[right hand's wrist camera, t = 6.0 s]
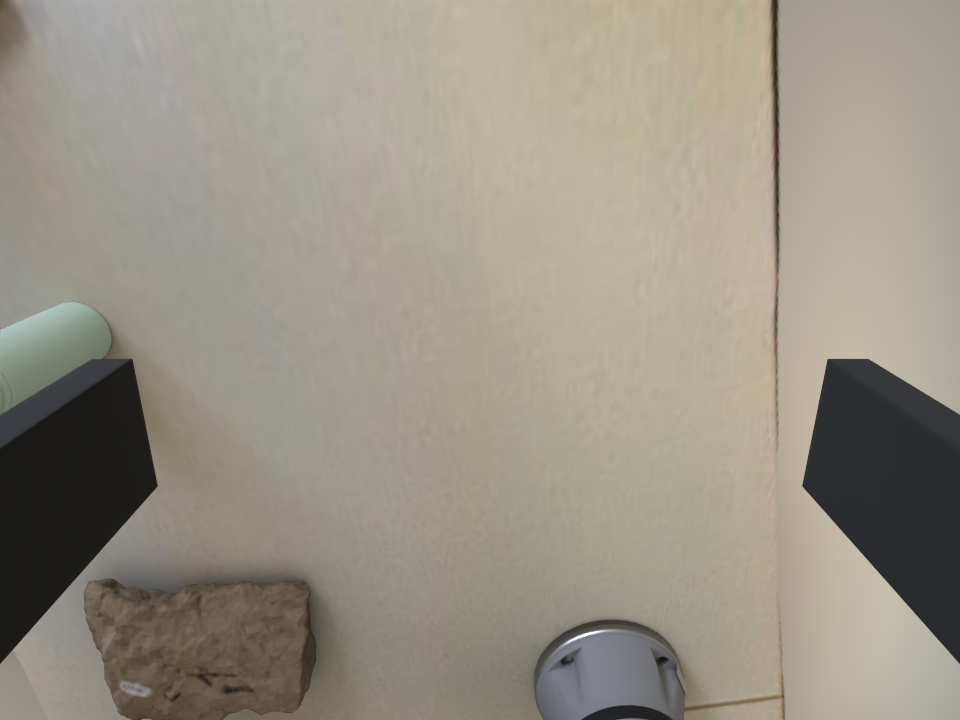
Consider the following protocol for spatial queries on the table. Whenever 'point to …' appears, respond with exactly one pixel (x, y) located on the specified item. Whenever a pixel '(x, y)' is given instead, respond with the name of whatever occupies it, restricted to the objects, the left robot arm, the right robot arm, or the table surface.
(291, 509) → the table surface
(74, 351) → the bottle
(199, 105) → the table surface
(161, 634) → the stone
